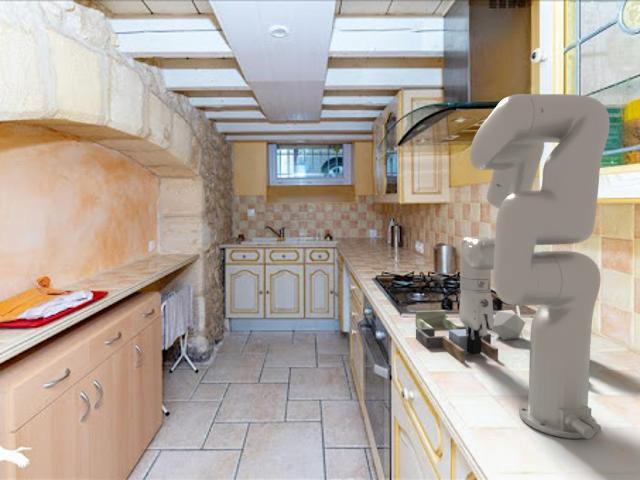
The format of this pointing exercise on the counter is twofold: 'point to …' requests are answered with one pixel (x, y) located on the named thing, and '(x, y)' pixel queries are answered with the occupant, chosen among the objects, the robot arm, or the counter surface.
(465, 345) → the block
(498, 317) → the grey faceted solid
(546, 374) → the robot arm
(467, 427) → the counter surface
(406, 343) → the counter surface
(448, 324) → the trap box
